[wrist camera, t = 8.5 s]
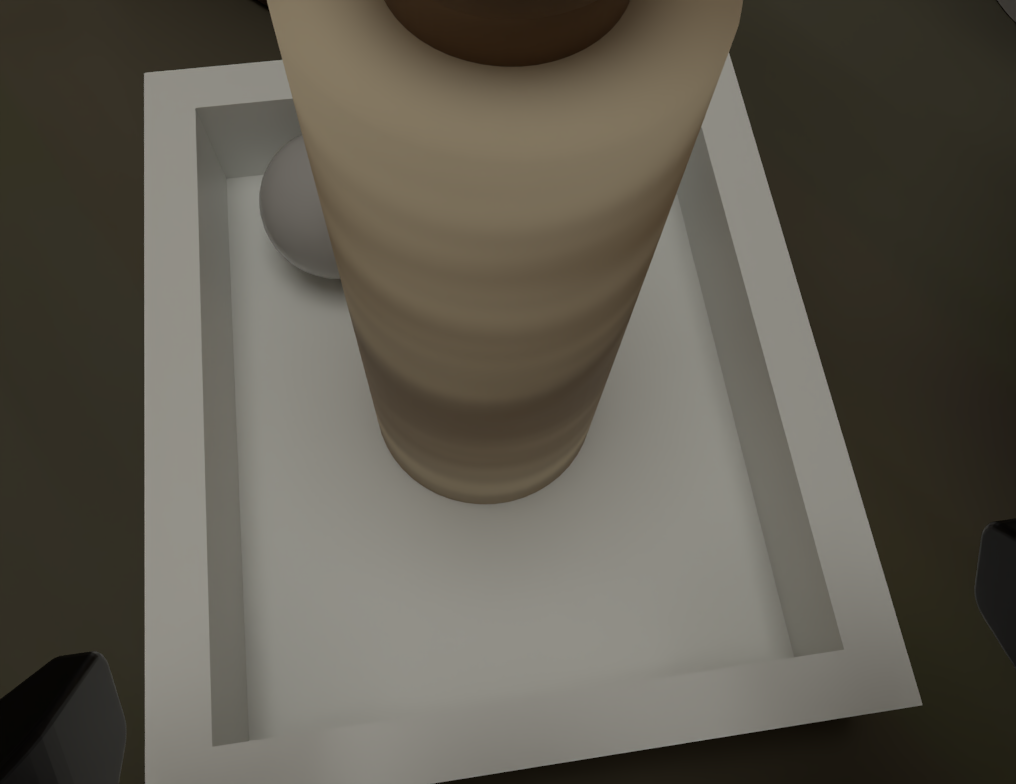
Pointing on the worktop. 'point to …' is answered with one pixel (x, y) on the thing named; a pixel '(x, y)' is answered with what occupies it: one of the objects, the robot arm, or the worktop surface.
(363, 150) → the pepper mill
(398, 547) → the bin
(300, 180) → the pebble
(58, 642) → the worktop surface
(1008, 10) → the cup
